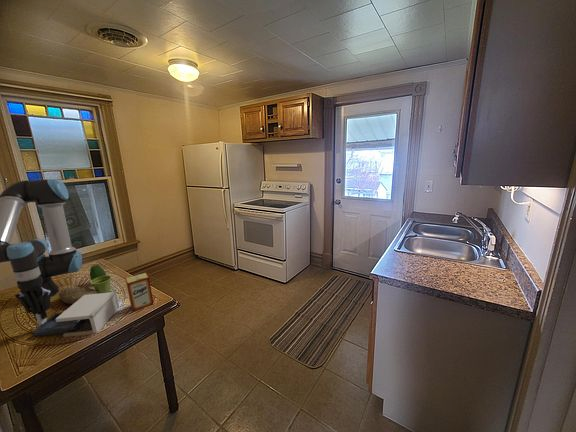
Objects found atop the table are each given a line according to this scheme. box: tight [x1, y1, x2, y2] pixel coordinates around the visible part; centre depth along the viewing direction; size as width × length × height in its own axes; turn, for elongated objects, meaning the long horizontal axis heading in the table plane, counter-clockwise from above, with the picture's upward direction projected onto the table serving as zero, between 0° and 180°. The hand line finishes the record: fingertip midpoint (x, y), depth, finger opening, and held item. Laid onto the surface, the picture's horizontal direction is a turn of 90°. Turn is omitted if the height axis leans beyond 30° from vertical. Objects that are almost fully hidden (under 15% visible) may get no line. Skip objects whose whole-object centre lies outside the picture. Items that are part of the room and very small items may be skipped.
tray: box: [32, 312, 90, 338], centre depth 112 cm, size 16×12×3 cm
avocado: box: [89, 264, 107, 281], centre depth 149 cm, size 8×8×12 cm
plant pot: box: [90, 275, 112, 294], centre depth 137 cm, size 9×9×9 cm
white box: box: [56, 291, 120, 338], centre depth 113 cm, size 14×19×9 cm
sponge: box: [58, 286, 98, 305], centre depth 131 cm, size 13×8×20 cm
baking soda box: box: [125, 272, 155, 312], centre depth 125 cm, size 10×6×16 cm
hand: (43, 324), depth 110 cm, fingers closed
